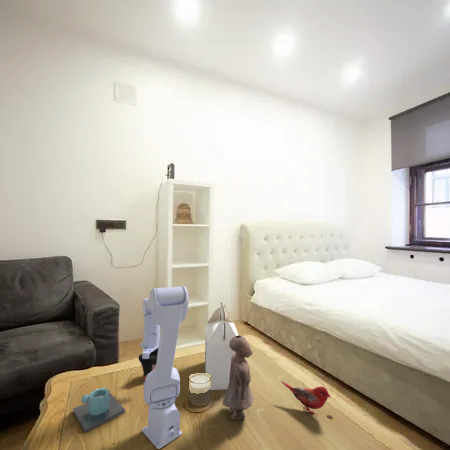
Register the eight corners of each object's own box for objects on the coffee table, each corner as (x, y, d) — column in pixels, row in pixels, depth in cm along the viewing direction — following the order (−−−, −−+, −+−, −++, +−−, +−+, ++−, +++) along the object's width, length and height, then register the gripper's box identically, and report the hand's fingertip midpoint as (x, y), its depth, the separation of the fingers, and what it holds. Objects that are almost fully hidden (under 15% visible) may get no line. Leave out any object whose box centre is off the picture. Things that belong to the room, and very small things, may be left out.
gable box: (240, 389, 98) (242, 315, 99) (205, 391, 97) (207, 315, 98) (233, 361, 120) (234, 300, 121) (204, 361, 119) (206, 300, 120)
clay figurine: (258, 427, 79) (259, 344, 80) (226, 431, 77) (228, 346, 78) (247, 400, 92) (248, 329, 92) (219, 403, 90) (221, 330, 91)
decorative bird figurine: (329, 425, 80) (329, 392, 81) (278, 400, 92) (279, 371, 92) (332, 420, 83) (332, 388, 83) (282, 396, 94) (282, 368, 94)
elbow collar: (111, 403, 87) (111, 388, 87) (103, 415, 81) (104, 399, 81) (87, 403, 87) (88, 387, 87) (77, 414, 81) (78, 398, 81)
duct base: (125, 412, 84) (125, 396, 84) (85, 432, 76) (85, 414, 76) (110, 395, 93) (110, 381, 93) (72, 411, 84) (73, 395, 84)
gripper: (146, 324, 101) (145, 359, 100) (133, 339, 86) (132, 381, 86) (164, 324, 101) (163, 360, 100) (154, 339, 86) (153, 381, 86)
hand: (150, 369), depth 93 cm, fingers open, 7 cm apart
